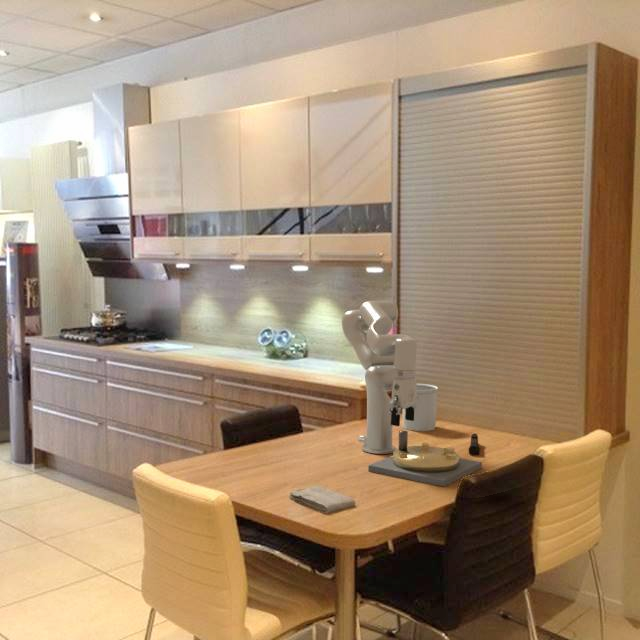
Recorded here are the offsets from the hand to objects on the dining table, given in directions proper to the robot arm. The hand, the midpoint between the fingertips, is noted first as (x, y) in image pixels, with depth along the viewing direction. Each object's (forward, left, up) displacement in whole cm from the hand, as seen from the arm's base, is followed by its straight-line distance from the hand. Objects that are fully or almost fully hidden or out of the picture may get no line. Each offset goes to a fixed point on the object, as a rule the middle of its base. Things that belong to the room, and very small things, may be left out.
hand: (402, 422), depth 266 cm
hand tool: (+10, +35, -15) cm, 40 cm away
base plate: (+10, -1, -15) cm, 18 cm away
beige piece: (+10, -1, -12) cm, 16 cm away
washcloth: (+3, -50, -15) cm, 53 cm away
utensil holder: (-23, +54, -15) cm, 61 cm away
